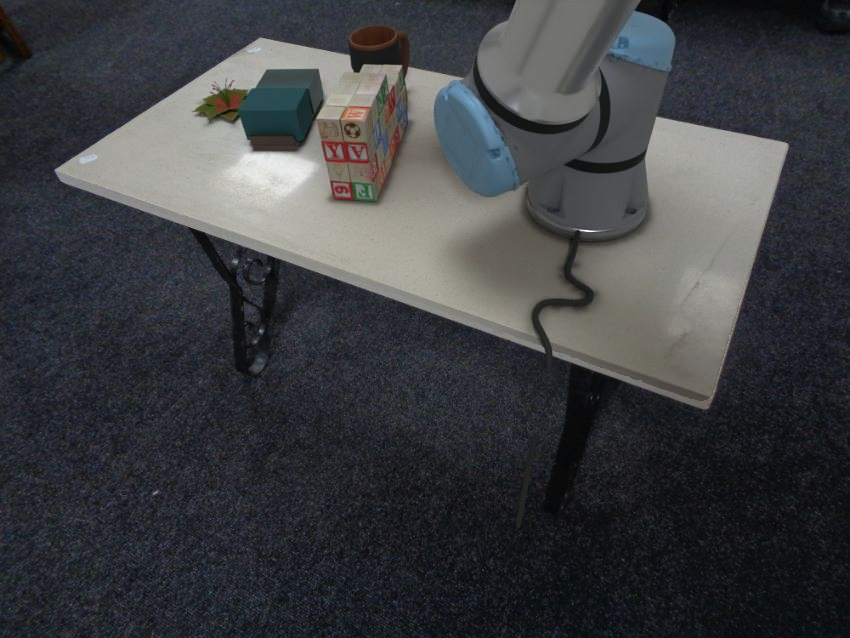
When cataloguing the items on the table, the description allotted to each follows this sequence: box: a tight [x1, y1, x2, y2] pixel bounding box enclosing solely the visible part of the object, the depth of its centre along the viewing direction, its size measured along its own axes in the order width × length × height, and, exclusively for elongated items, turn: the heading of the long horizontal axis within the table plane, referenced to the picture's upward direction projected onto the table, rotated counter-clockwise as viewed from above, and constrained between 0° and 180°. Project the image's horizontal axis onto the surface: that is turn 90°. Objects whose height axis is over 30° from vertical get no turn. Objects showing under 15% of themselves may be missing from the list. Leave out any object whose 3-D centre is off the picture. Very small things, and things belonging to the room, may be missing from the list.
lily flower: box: [191, 78, 250, 122], centre depth 95 cm, size 12×12×5 cm
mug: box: [347, 24, 411, 105], centre depth 90 cm, size 9×12×12 cm
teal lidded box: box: [249, 68, 325, 152], centre depth 90 cm, size 17×9×6 cm, turn 174°
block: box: [238, 87, 314, 141], centre depth 87 cm, size 7×9×5 cm
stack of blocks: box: [316, 64, 409, 202], centre depth 79 cm, size 21×6×12 cm, turn 169°
